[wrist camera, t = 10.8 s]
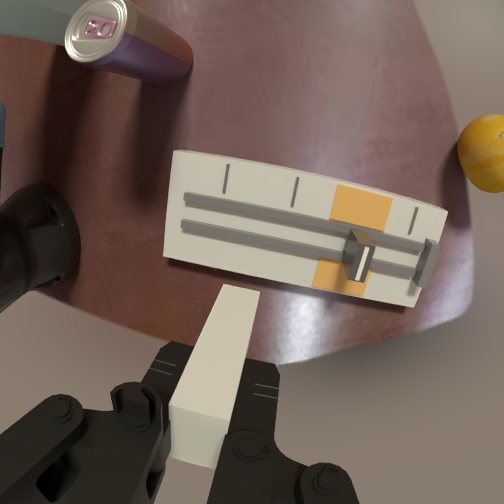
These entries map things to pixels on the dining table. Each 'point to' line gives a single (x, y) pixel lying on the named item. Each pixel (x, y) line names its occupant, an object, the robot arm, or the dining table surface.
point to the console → (298, 226)
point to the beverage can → (126, 42)
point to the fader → (358, 255)
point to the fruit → (484, 152)
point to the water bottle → (38, 18)
